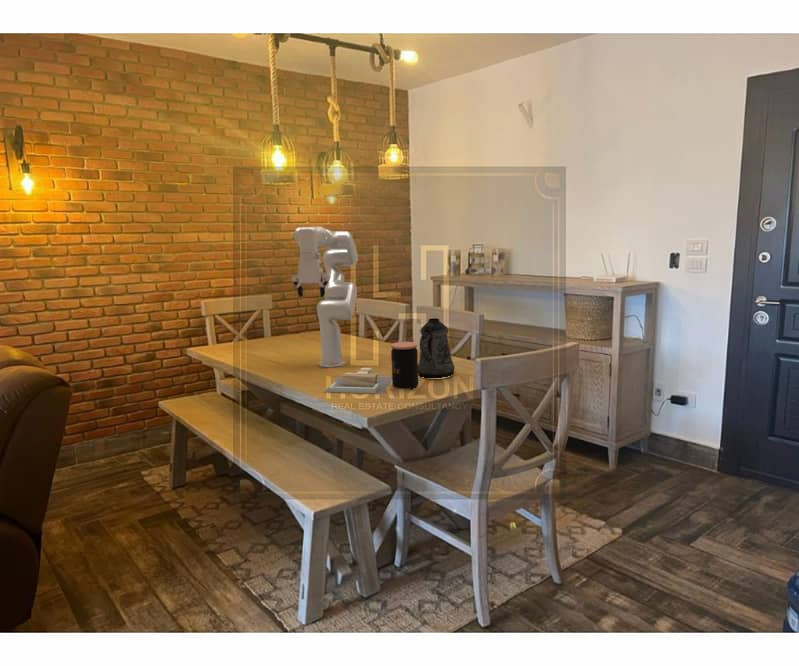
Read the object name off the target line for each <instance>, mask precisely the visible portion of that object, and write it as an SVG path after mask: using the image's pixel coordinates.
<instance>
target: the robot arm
mask: <svg viewBox="0 0 799 666" xmlns="http://www.w3.org/2000/svg"><path fill="white" fill-rule="evenodd" d="M293 237H294V241H295V243H296V244H298V245H299V255H300V259H299V260H298V268H297V269H298V271H297V274H295V275H293V276H292V277H290V279H291V281H292V283H293V285H294V286H295V287H296V289H297V296H298V297H299V298H302V297H303V296H304V291H303V290H304V289H303V285H304V284H318V285H319V286H320V287H319V293H320V294H319V296H320V297H321V298H322V297H324V299H323V300H320V301H319V302H318V303H317V306H316V313H317V316H318V323H319V330H320V331H319V332H320V350H321V360H320V361H319V362H318V366H320V367H321V368H338V367H343V366H345V364H346V360H343V359H342V356H343V353H342V343H341V341H342V339H341V337H342V336H341V328H340V326H339V323H338V322H337V320H341V321H343V320H344V321H345V320H350V319H352V318H353V316H354V313H355V307H356V302H357V296H358V290H357V285H356V284H355V283H353V282H351V281H345V275H344V273H343V272H342V271H341V270H340V268H338V267H352V266H355V265H356V264H358V261H359V256H358V251H357V247H356V245H355V240H354V238H353V235H352V233H350V232H349V231H347V230H341V231H340V230H339V231H335V230H334V231H332V230H329V229H327V228H324V227H323V226H299V227H296V228H295V230H294V233H293ZM318 248H324V249H327V250H326V251H324V253H323V256H322V253H319V249H318ZM321 257H323V258H322V259H323V265H324V268H325V271H326V273H324V271H323V266H322V261H321V259H319V258H321ZM324 279H325V281H324ZM297 280H298V281H297Z"/></svg>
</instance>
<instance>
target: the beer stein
mask: <svg viewBox="0 0 799 666" xmlns="http://www.w3.org/2000/svg"><path fill="white" fill-rule="evenodd" d="M449 330H450V329H449V328H448V327H447V326H446V325H445V324H444V323H443V322H441V321H440V319H439V318H436V317H435V318H434V317H433V318H429V319H428V320H427V322H426V323H425V324H424V325H423V326H422V327H421V329H420V330H419V331H420V334H421V336H420V339H419V350H420V352H419V360H418V377H419V376H420V378H421V377H424V378H423V379H425V378H442V377H448V376H451V375H453V374H455V363H454V362H453V359H452V355H451V349H450V343H449V339H448V334H449ZM453 376H454V375H453Z"/></svg>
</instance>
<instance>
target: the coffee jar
mask: <svg viewBox="0 0 799 666" xmlns="http://www.w3.org/2000/svg"><path fill="white" fill-rule="evenodd" d="M390 346H391V352H390V353H391V356H390V357H391V359H390V360H391V377H392V381H391V382H392V383H391V384H392V387H394V388H396V389H397V388H398V389H409V391H412V390H415V389H417V388H416V387H418V386H419V374H418V364H419V360H418V357H419V356H418V348H417V347H418V343H416V342H413V341H398V342H394V343H391V344H390ZM414 388H415V389H414ZM411 389H412V390H411Z"/></svg>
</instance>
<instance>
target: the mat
mask: <svg viewBox="0 0 799 666" xmlns="http://www.w3.org/2000/svg"><path fill="white" fill-rule="evenodd" d="M342 376H343V375H341V376H339V377H338V378H337V379H336V380H335V381H333V382H332V383H331V384H330V385H329V386H328V387H327V388H326V389H325V390H323V392H322V394H323V393H324V394H353V395H355V394H358V395H359V394H360V395H382V394H383V393H384V392H385V390H386V389H387V388H388V386H389V385H390V384H391V382H392V376H382V375H381V376H379V375H378V383H377V384H376V385H375V386H360V385H343V380H342Z"/></svg>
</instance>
